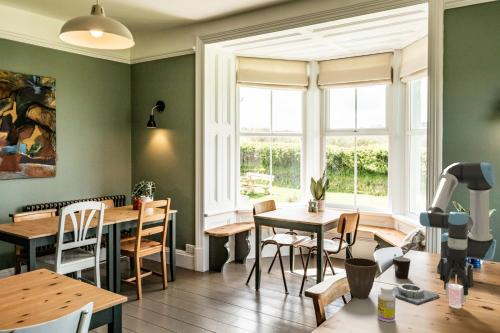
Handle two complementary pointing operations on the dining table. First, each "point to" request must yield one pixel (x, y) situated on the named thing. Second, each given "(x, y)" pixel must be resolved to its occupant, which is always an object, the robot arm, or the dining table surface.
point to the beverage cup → (455, 295)
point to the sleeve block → (413, 293)
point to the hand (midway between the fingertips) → (455, 299)
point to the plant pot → (360, 276)
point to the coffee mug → (401, 267)
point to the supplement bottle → (386, 304)
